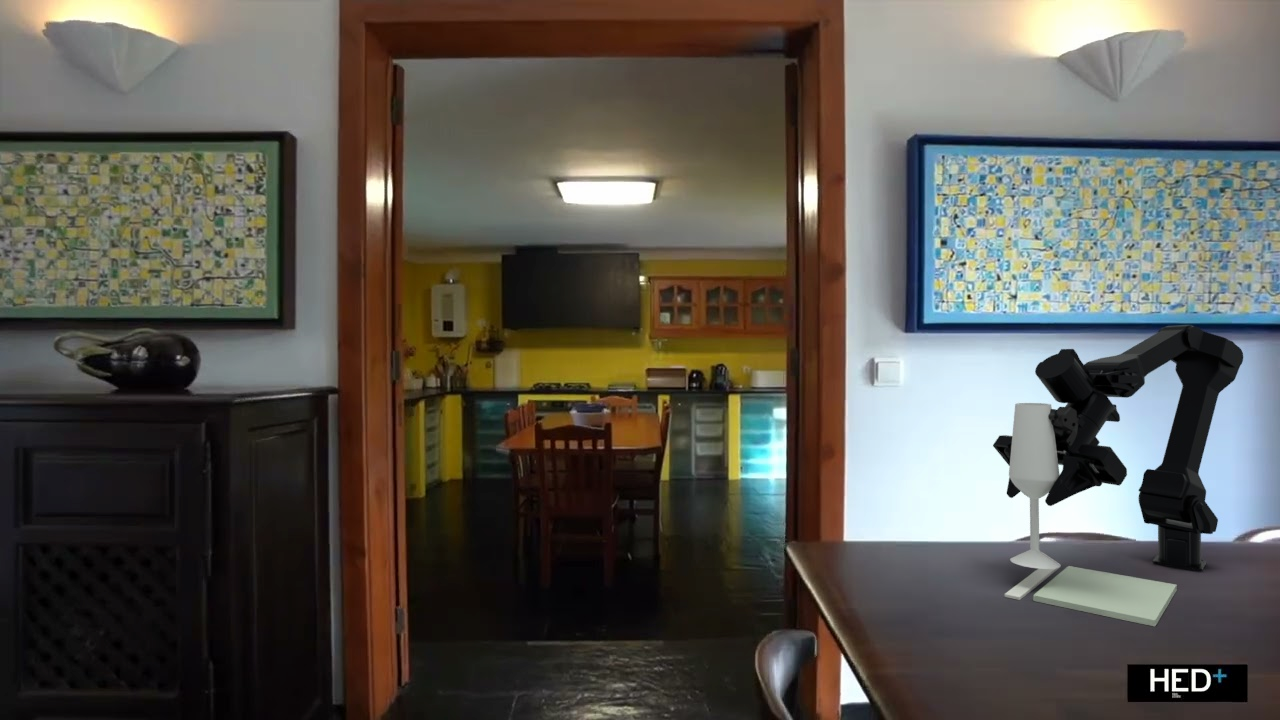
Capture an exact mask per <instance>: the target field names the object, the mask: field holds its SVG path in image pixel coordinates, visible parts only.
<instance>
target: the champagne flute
mask: <svg viewBox="0 0 1280 720" xmlns="http://www.w3.org/2000/svg"><path fill="white" fill-rule="evenodd" d="M1051 409H1053V408H1052V403H1044V402H1043V403H1041V402H1036V403H1035V402H1017V403H1016V402H1015V404H1014V414H1013V424H1012V425H1013V426H1012V435H1011V436H1012V445H1011V456H1010V466H1009V468H1008V469H1009V470H1008V477H1010V479H1011V481H1012V482H1013V484H1014V485H1015V486H1016V487H1017V488H1018V489H1019V490H1020V493H1022V494H1023V495H1025V497H1027V498H1029V530H1030V533H1029V534H1030V536H1029V538H1030V539H1029V540H1030V541H1029V542H1030V543H1029V545H1030V549H1028V550H1026V551H1024V552H1022V553H1019V554H1017V555H1015V556H1013V557H1011V558H1010V559H1009V560H1010V562H1011V563H1013V564H1016V565H1018V566H1021V567H1025V568H1031V569H1055V568H1059V567H1060V568H1061V564H1060V563H1059V562H1058V561H1056V560H1055V559H1053V558H1052V557H1050V556H1049V555H1047V554H1046V553H1044V552H1042V550H1040V508H1039V507H1040V506H1039V505H1040V504H1039V503H1040V501H1039V500H1040V499H1041V498H1043V497H1045V496H1046V495H1048V493H1049V491H1050V490H1051V488H1052V487H1053V485H1054V483H1055V482H1056V480H1057V479H1058V477H1059V475H1060V467H1059V466H1060V465H1058V458H1057V449H1056V441H1055V433H1054V430H1053V425H1052V423H1051V421H1052V420H1050V419H1049V418H1048V415H1049V414H1050V410H1051ZM1060 568H1059V569H1060Z"/></svg>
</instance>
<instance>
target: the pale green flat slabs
mask: <svg viewBox="0 0 1280 720" xmlns="http://www.w3.org/2000/svg"><path fill="white" fill-rule="evenodd" d="M1060 568H1061V566H1060V567H1059V568H1055V569H1038V568H1036V570H1034V571H1033V572H1032V573H1031V574H1029V575H1028V576H1026V577H1025V578H1024V579H1022V580H1021V581H1020V582H1019V583H1017V584H1016V585H1015V586H1013V587H1012V588H1010V589H1009V590H1008V591H1007V592H1004V596H1003V597H1005V598H1007V599H1014V600H1018V601H1021V600H1022V599H1023V598H1024V597H1025V596H1027V595H1028V594H1029V593H1030V592H1032V591H1033V590H1034V589H1035V588H1037V587H1038V586H1039V585H1040V584H1042V583H1043V582H1044V581H1045V580H1046V579H1048V578H1049V577H1050V576H1052V575H1053V574H1054V573H1055V572H1056V571H1058V570H1059V569H1060ZM1177 588H1178V585H1177V584H1174V583H1169V582H1163V581H1157V580H1153V579H1146V578H1141V577H1140V578H1139V577H1135V576H1130V575H1129V576H1128V575H1123V574H1117V573H1113V572H1112V573H1111V572H1105V571H1099V570H1094V569H1088V568H1085V567H1084V568H1083V567H1076V566H1072V565H1068V566H1066V567H1065V568H1064V569H1063V570H1062V571H1060V572H1059V573H1058V574H1057V575H1056V576H1054V577H1053V578H1052V579H1051V580H1049V582H1047V583H1046V584H1045V585H1044V586H1042V587H1041V588H1040V589H1039V590H1038V591H1036V592H1035V593H1034V594H1033V602H1037V603H1042V604H1047V605H1051V606H1056V607H1060V608H1065V609H1071V610H1073V611H1074V610H1075V611H1080V612H1084V613H1089V614H1095V615H1098V616H1104V617H1108V618H1112V619H1117V620H1121V621H1122V620H1123V621H1127V622H1131V623H1136V624H1140V625H1146V626H1150V627H1154V628H1155V627H1156V626H1157V624H1158V623H1159V621H1160V619H1161V618H1162V616H1163V614H1164V613H1165V610H1166V609H1167V607H1168V606H1169V604H1170V602H1171V600H1172V599H1173V597H1174V596H1175V594H1176V592H1177V591H1178V589H1177Z"/></svg>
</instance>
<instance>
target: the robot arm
mask: <svg viewBox="0 0 1280 720" xmlns="http://www.w3.org/2000/svg"><path fill="white" fill-rule="evenodd" d="M1170 361H1171V362H1173V363H1174V364H1175V373H1176V374H1177V377H1178V379H1179V381H1180V383H1181V385H1182V387H1181V391H1180V395H1179V399H1178V402H1177V406H1176V410H1175V415H1174V418H1173V421H1172V426H1171V429H1170V433H1169V437H1168V440H1167V444H1166V447H1165V451H1164V454H1163V459H1162V462H1161V464H1160V465H1159V466H1157V467H1156V468H1155V469H1151V468H1147V469H1146V470H1145V471H1144V472H1143V477H1142V482H1141V485H1140V487H1139V489H1138V492H1139V493H1138V504H1139V507H1140V512H1141V515H1142V519H1143V522H1144V524H1147V525H1149V524H1151V525H1156V526H1157V555H1156V556H1155V557H1154V558H1153V560H1152V563H1153V564H1155V565H1159V566H1160V565H1161V566H1166V567H1172V568H1178V569H1179V568H1180V569H1185V570H1192V571H1197V572H1203V571H1204V569H1205V566H1206V565H1207V561H1206V560H1204V559H1202V534H1205V535H1213V533H1215V532H1216V531H1217V528H1218V523H1219V518H1218V517H1217V516H1216V515H1215V513H1214V512H1213V510H1212V509H1211V508H1210V506H1209V505H1208V503H1207V502H1206V497H1207V490H1206V487H1205V485H1204V483H1203V481H1202V479H1201V477H1200V475H1199V472H1200V467H1201V463H1202V459H1203V455H1204V451H1205V448H1206V444H1207V440H1208V436H1209V434H1210V433H1209V432H1210V428H1211V425H1212V421H1213V416H1214V413H1215V410H1216V405H1217V401H1218V397H1219V394H1220V393H1221V392H1222V391H1223V390H1224V389H1226V388H1227V387H1228V386H1229V385H1231V384H1232V383H1233V382H1234V381H1235V380H1236V377H1237V375H1238V372H1239V370H1240V367H1241V365H1242V364H1243V362H1244V353H1243V350H1242V348H1241V347H1239V346H1238V345H1236V343H1235V342H1234V341H1233V340H1229V338H1226V337H1224V336H1220V335H1217V334H1214V333H1212V332H1211V333H1210V332H1208V331H1204V330H1203V329H1201V328H1200V327H1198V326H1194V325H1192V324H1182V325H1167V326H1164V327H1161V328H1160V329H1159V330H1158V331H1157V332H1156V333H1154V334H1153V335H1152V336H1150V337H1149V336H1148V338H1146V339H1144V340H1143V341H1141V342H1139V343H1137V344H1136V345H1134V346H1132V347H1130V348H1129V349H1127V350H1125V351H1124V352H1122V353H1120V354H1117V355H1116V354H1115V355H1112V356H1105V357H1100V358H1097V359H1094V360H1093V359H1092V360H1091V361H1088V362H1087V361H1086V362H1085V363H1083V362H1082V360H1081V359H1080V357H1079V355H1078V353H1077V351H1076V350H1075V349H1074V348H1061V349H1060V350H1059V352H1058V353H1056V354H1052V355H1050V356H1049V357H1047V358H1045V359H1043V361H1040V362H1039V363H1038V364H1037V365H1036V367H1035V373H1034V374H1035V375H1036V377H1037V378H1038V379H1039V380H1040V382H1041V383H1042V384H1043V385H1044V387H1045V389H1046V390H1047V391H1048V392H1049V394H1050V395H1051V396H1052V397H1053V399H1054V400H1055V401H1056V402H1058V403H1061V404H1065V406H1058V408H1057V409H1055V408H1052V409H1051V410H1050V414H1049V415H1048V418H1049V419H1050V420H1052V421H1051V423H1052V425H1053V430H1054V433H1055V441H1056V449H1057V458H1058V466H1062V470H1061V472H1060V473H1059V477H1058V479H1057V480H1056V482H1055V483H1054V485H1053V487H1052V488H1051V490H1050V491H1049V493H1047V494H1046V495H1047V496H1046V498H1045V500H1044V501H1045V504H1047V506H1049V507H1052V506H1054V505H1056V504H1058V503H1060V502H1063V501H1064V500H1066V499H1068V498H1070V497H1072V496H1074V495H1076V494H1078V493H1081V492H1085V491H1086V490H1089V489H1092V488H1093V487H1101V486H1102V485H1103V484H1108V485H1114V486H1121V485H1122V484H1123V482H1124V481H1125V479H1126V477H1127V475H1128V469H1127V467H1126V466H1125V464H1124V463H1123V461H1121V459H1120V458H1119V457H1118V455H1117V454H1116V452H1115V451H1114V450H1113V448H1112V447H1111V446H1105V445H1099V444H1100V443H1101V442H1100V441H1099V439H1098V438H1097V436H1098V434H1099V432H1100V431H1101V429H1102V428H1103V426H1104V424H1105V423H1106V422H1112V423H1113V422H1114V423H1119V422H1120V421H1121V416H1120V413H1119V412H1118V408H1117V405H1116V404H1113V403H1112V401H1111V400H1110V399H1109V398H1125V399H1126V398H1130V397H1132V396H1134V395H1135V394H1136V393H1137V392H1138V391H1140V389H1141V388H1143V386H1145V383H1146V382H1145V380H1146V379H1145V378H1146V376H1147V375H1149V374H1150V373H1152V372H1154V371H1155V370H1157V369H1159V368H1160V367H1161V366H1163V365H1165V364H1167V363H1169V362H1170ZM1011 445H1012V435H1006V434H1003V435H1002V434H1001V435H998V437H997V438H996V440H995V441H994V443H993V444H992V447H993V448H994V449H995V450H996V452H997V453H998V455H1000V456H1001V458H1002V459H1003V460H1004V462H1006V464H1007V466H1009V467H1010V456H1011ZM1008 477H1009V476H1008ZM1020 493H1021V491H1020V490H1019V489H1018V488H1017V487H1016V486H1015V485H1014V484H1013V482H1012V481H1011V479H1010V477H1009V478H1008V483H1007V489H1006V495H1007V496H1008V498H1011V499H1012V498H1013V499H1014V497H1016V496H1017V495H1018V494H1020Z"/></svg>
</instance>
